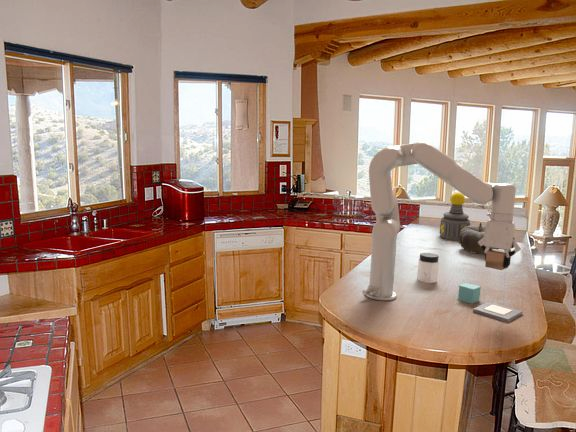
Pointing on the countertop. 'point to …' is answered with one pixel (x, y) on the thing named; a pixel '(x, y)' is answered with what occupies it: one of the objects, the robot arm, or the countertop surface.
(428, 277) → the jar
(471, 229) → the gourd
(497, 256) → the walnut block
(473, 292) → the teal block
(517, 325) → the countertop surface
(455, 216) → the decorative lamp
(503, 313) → the grey square plate
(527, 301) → the countertop surface
